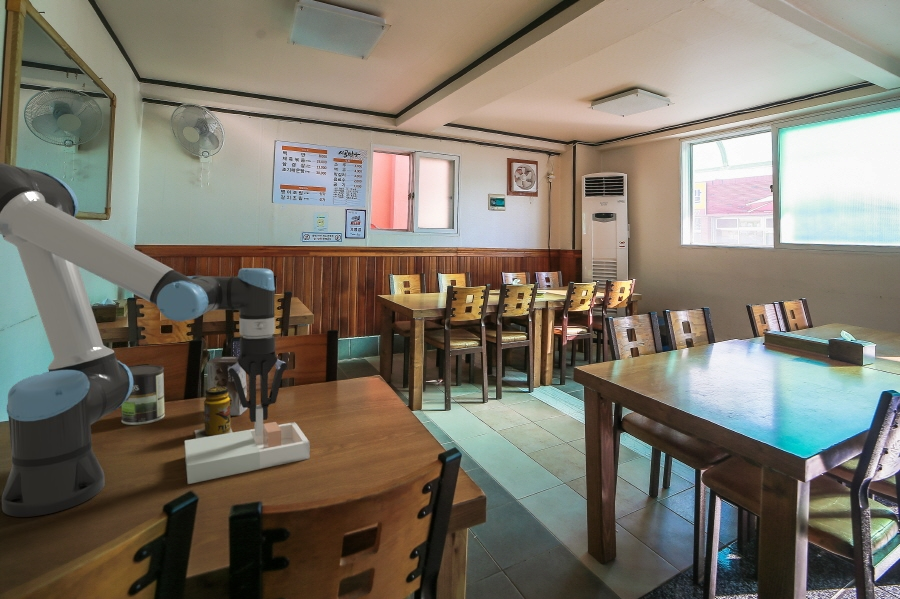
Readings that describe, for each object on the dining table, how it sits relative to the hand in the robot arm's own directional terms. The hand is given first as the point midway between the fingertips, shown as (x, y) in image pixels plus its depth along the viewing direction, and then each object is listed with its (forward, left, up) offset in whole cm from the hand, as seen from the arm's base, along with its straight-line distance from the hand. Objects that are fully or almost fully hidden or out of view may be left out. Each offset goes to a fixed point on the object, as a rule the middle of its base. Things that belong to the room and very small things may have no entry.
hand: (258, 433), depth 108 cm
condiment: (-8, +19, -6) cm, 21 cm away
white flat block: (-8, 0, -5) cm, 10 cm away
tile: (+1, 0, -2) cm, 2 cm away
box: (+4, 0, -5) cm, 7 cm away
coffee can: (-24, +39, -6) cm, 46 cm away
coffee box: (-3, +34, -6) cm, 35 cm away
